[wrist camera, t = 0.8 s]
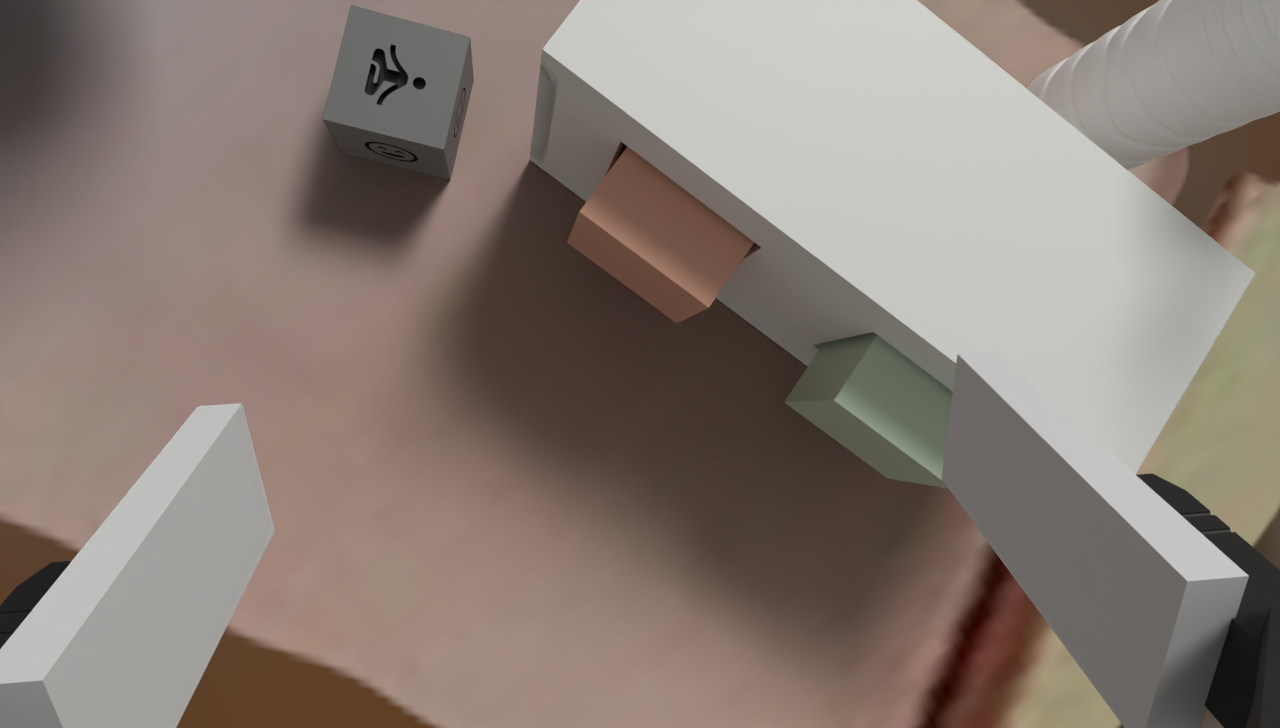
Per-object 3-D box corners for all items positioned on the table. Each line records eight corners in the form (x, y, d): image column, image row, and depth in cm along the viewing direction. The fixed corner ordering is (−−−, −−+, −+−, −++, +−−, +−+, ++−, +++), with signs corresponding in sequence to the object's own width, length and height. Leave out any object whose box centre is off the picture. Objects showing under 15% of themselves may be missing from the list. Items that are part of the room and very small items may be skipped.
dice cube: (368, 53, 41) (350, 4, 36) (473, 81, 42) (470, 37, 37) (344, 154, 41) (322, 119, 36) (450, 180, 42) (443, 149, 37)
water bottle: (1025, 53, 47) (1613, -349, 22) (1132, 89, 48) (1813, -259, 23) (992, 209, 46) (1565, -28, 21) (1102, 242, 47) (1773, 52, 22)
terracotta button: (567, 242, 38) (579, 211, 32) (658, 119, 39) (686, 66, 33) (676, 323, 39) (708, 307, 33) (764, 199, 40) (810, 162, 34)
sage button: (783, 401, 39) (834, 400, 33) (867, 278, 40) (930, 255, 34) (887, 478, 40) (954, 489, 34) (967, 354, 41) (1046, 344, 35)
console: (529, 159, 42) (542, 49, 29) (647, 3, 43) (709, -168, 31) (945, 468, 45) (1124, 491, 32) (1044, 312, 46) (1255, 273, 33)
